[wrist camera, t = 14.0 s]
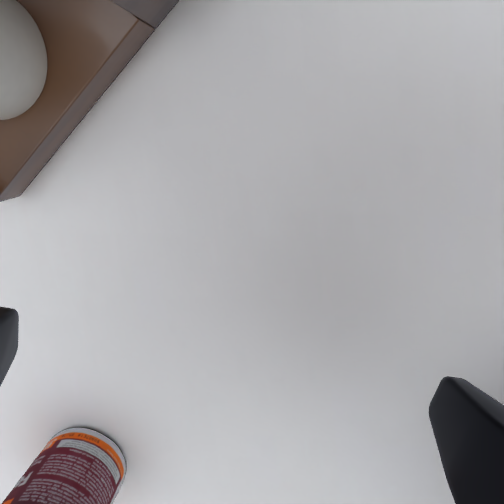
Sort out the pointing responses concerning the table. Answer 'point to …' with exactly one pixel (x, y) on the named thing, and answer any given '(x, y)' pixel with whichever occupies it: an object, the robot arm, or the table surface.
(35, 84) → the bottle
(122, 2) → the tray
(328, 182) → the table surface
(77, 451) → the pill bottle
